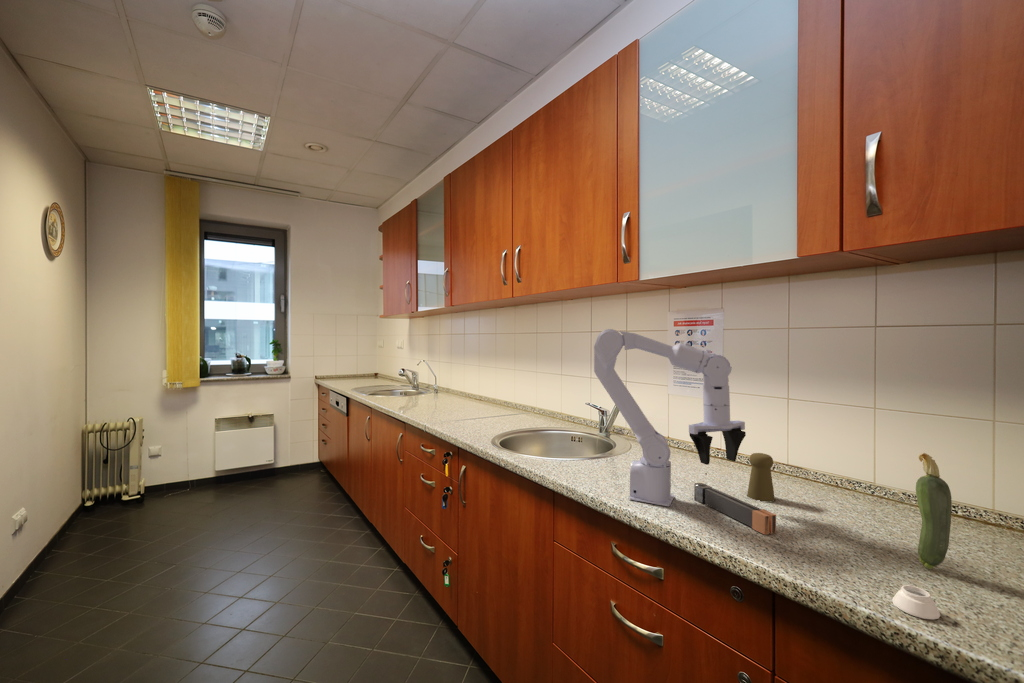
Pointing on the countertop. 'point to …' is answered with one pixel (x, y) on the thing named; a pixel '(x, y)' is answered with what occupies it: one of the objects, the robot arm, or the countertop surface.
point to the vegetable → (933, 514)
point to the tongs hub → (700, 492)
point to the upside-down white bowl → (916, 602)
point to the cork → (761, 477)
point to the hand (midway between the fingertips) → (718, 461)
